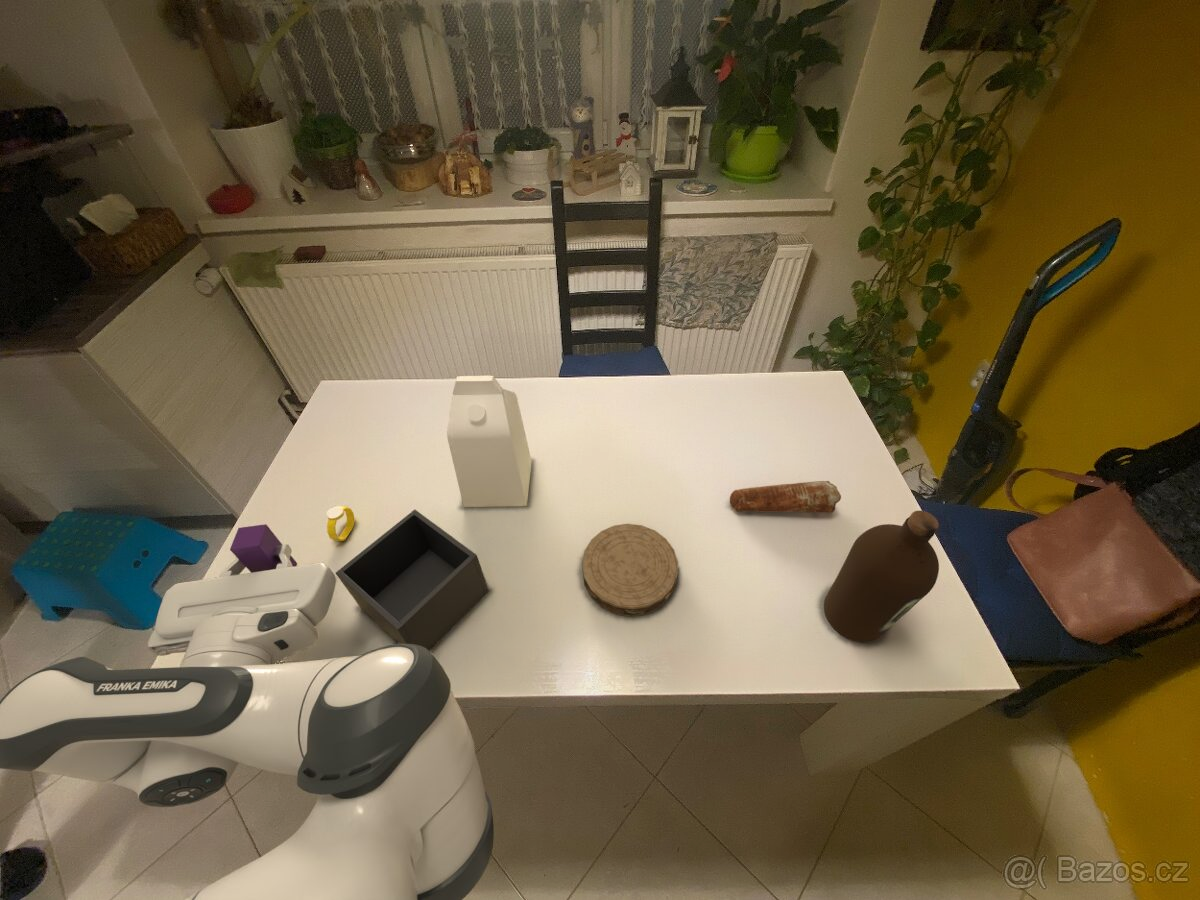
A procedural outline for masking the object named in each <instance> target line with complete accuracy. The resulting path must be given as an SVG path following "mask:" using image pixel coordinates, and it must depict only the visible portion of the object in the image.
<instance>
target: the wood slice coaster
mask: <svg viewBox="0 0 1200 900" xmlns="http://www.w3.org/2000/svg"><path fill="white" fill-rule="evenodd" d="M581 568H582V570H581V571H582V577H583V584H584V587H585V589H586V592H587V593H588V595H589V596H590V598H591V599H592V600H593V601H594V602H595V603H596V604H597V605H598V606H599V607H601V608H602V609H603V610H606V611H607V612H610V613H612V614H615V615H617V616H624V617H632V618H633V617H639V616H645V615H648V614H651V613H652V612H654V611H656V610H658V609H660V608H661V607H663V605H664V604H665V603H666V602H667V601H668V600H669V599H670V598H671V596H672V594H673V592H674V589H675V587H676V584H677V579H678V568H679V561H678V558H677V555H676V551H675V549H674V547H673V546H672V545H671V543H670V542H669V541H668V539H667V538H666V537H664V536H663V535H662V534H660V533H659V532H658V531H657V530H655V529H653V528H650V527H647V526H645V525H643V524H633V523H623V524H616V525H612V526H610V527H608V528H605V529H603V530H601V531H600V532H599V533H597V534H596V535H595V536H593V538H591V539H590V541H589V543H588V544H587V545H586V547H585V549H584V551H583V557H582V560H581Z"/></svg>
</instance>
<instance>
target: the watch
mask: <svg viewBox="0 0 1200 900" xmlns="http://www.w3.org/2000/svg"><path fill="white" fill-rule="evenodd" d="M325 514H326V517H327V519H328V520H327V524H326V531H327V535H328V537H329V539H330V540H332V541H334V542H335V541H338V542H343V541H345V540H347V539H348V536H349V535H350V533H351V532H352V530H353V529H354V526H355V514H354V511H353V510H352V508H350V507H349V506H341V505H339V506H338V505H336V506H333V507H331V508H329V509H328V510H327V511H326V513H325ZM344 515H345V518H346V522H345V527H344V529H343V530H342V532H341V533H340V535H339V536H338V534H337V532H336V531H337V530H336V529H337V528H336V524H337V521H338V520H340V519H341V518H343V516H344Z"/></svg>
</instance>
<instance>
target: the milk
mask: <svg viewBox="0 0 1200 900" xmlns="http://www.w3.org/2000/svg"><path fill="white" fill-rule="evenodd" d="M521 412H522V411H521V409H520V403H519V399H518V396H517V394H516V392H514V391H511V390H508V389H504V388H503V387H502V385H501V384H500V383H499V381H498V380H497V379H496V377H495V376H494V375H457V376H456V379H455V382H454V386H453V391H452V395H451V402H450V407H449V414H448V420H447V430H446V438H447V442H448V446H449V451H450V454H451V459H452V463H453V467H454V472H455V476H456V481H457V485H458V489H459V493H460V497H461V502H462V504H463V505H462V507H463V508H489V507H491V508H493V507H497V508H498V507H527V506H528V500H529V491H530V481H531V473H532V462H533V461H532V456H531V451H530V448H529V443H528V439H527V435H526V430H525V427H524V426H525V425H524V421H523V417H522V413H521Z"/></svg>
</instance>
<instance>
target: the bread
mask: <svg viewBox="0 0 1200 900" xmlns="http://www.w3.org/2000/svg"><path fill="white" fill-rule="evenodd" d="M841 499H842V495H841V493H840V491H839V490H838V488H837V486H836V485H835V484H834V483H831V482H830V481H829V480H817V481H805V482H796V483H784V484H773V485H766V486H765V485H763V486H755V487H745V488H740V489H734V490H733V491H732V493H731V494H730V495H729V504H730V507H731V508H732V509H733V510H734V511H736V512H760V513H761V512H764V513H766V512H767V513H768V512H769V513H771V512H772V513H786V512H787V513H818V514H822V513H823V514H825V513H826V514H830V513H831V514H832V513H834V512H835V510H836V505H837V504H838V503H839V502H840V501H841Z"/></svg>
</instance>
